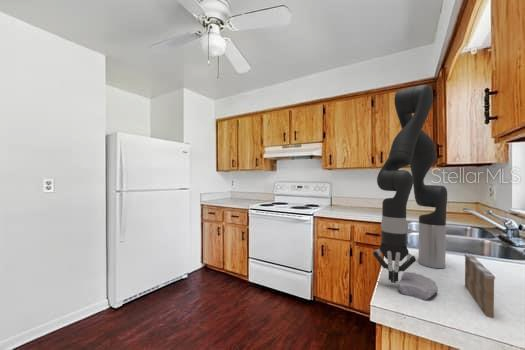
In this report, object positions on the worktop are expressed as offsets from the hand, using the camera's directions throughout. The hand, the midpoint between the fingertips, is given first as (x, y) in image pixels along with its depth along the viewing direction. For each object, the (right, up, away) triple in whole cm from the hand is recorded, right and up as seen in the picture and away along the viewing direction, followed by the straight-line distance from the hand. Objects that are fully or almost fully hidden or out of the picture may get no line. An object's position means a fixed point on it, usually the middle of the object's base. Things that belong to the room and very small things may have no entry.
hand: (393, 281), depth 79 cm
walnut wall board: (+21, -2, -8) cm, 22 cm away
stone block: (+6, -2, -3) cm, 7 cm away
